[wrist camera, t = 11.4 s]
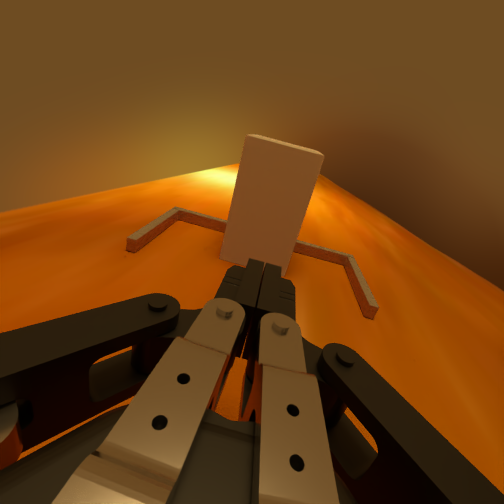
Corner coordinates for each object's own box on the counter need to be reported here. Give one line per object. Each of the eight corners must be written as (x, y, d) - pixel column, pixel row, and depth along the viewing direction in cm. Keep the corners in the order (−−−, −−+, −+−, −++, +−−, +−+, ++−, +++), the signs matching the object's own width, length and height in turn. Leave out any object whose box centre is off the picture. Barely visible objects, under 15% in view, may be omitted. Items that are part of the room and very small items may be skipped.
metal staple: (349, 264, 42) (352, 255, 41) (373, 319, 30) (379, 307, 29) (174, 215, 42) (175, 206, 42) (126, 250, 30) (126, 237, 30)
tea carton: (285, 250, 41) (317, 150, 35) (284, 276, 33) (324, 155, 28) (231, 236, 41) (254, 134, 35) (219, 258, 34) (246, 134, 28)
